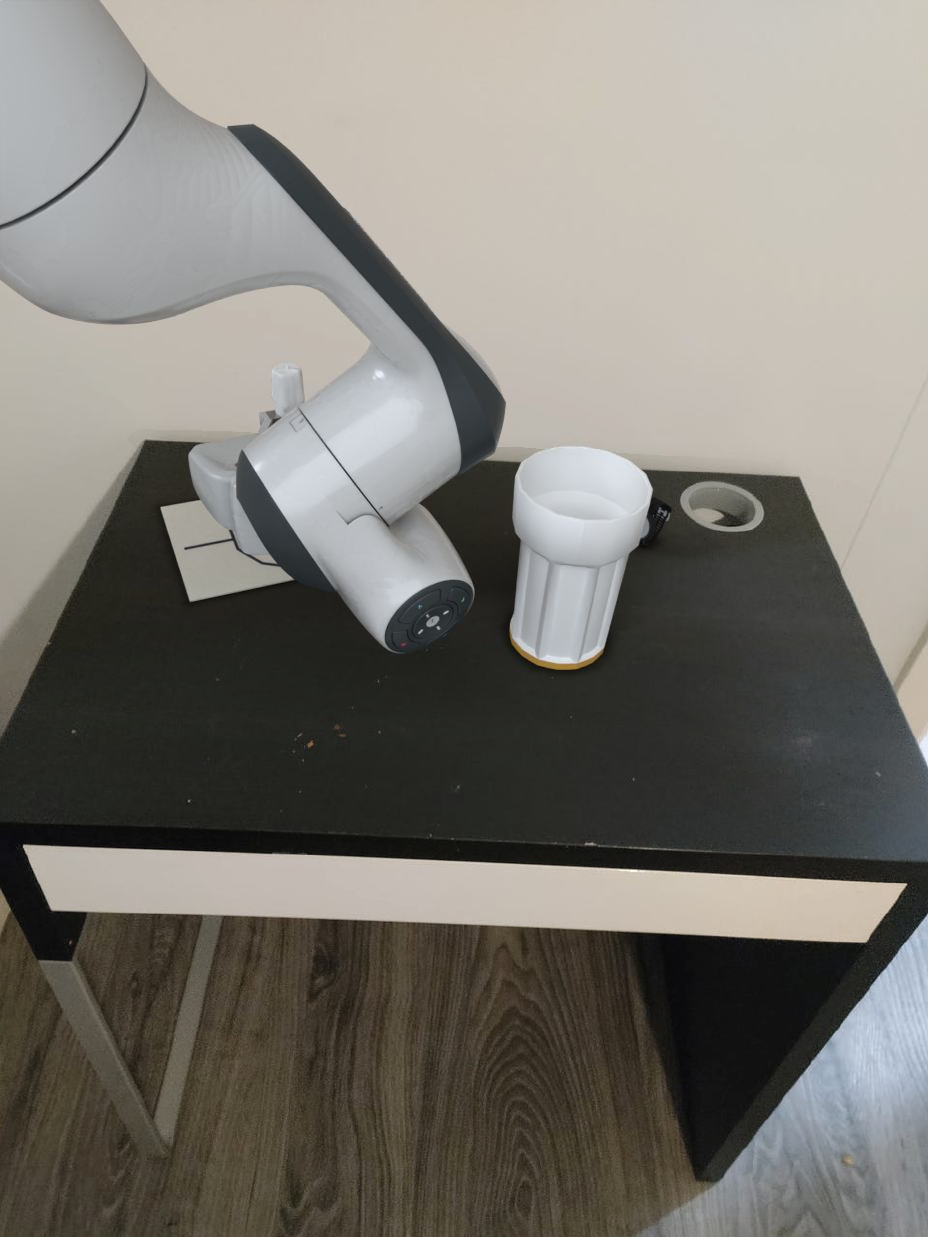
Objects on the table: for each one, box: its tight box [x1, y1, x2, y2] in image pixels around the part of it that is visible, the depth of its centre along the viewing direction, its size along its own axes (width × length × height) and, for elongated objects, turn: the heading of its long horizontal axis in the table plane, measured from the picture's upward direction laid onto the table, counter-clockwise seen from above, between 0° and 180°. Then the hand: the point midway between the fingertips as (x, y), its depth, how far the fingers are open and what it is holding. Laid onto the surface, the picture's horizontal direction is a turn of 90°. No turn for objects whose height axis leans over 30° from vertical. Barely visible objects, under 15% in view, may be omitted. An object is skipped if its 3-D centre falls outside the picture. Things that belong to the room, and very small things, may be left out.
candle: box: [270, 362, 306, 418], centre depth 82 cm, size 5×5×12 cm
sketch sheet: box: [160, 499, 295, 603], centre depth 97 cm, size 20×16×1 cm
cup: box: [509, 445, 654, 671], centre depth 82 cm, size 11×11×17 cm
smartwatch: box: [638, 496, 673, 547], centre depth 98 cm, size 4×5×5 cm
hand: (287, 414), depth 82 cm, fingers closed on candle, 2 cm apart
